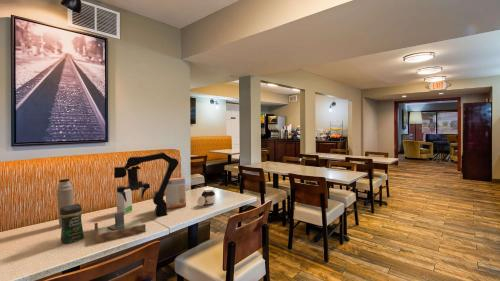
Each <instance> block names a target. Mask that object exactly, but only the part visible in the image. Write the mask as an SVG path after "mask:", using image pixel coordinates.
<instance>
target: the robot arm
mask: <svg viewBox="0 0 500 281" xmlns="http://www.w3.org/2000/svg"><path fill="white" fill-rule="evenodd" d="M157 160H164V162H167V166H166V171H165V174H164V175H163V178H162V180H161V183H160V185H159V188H158V189H157V191H155V190H154V191H153V195H152V196H151V197H152V201H153V204H154V205H155V208H154V214H155V216H156V217H158V218H159V217H164V216H167V215H168V212H167V210H168V209H167V207H166V199H164V196H165V189H166V187H167V184H168V182H169V179H171V177H172V174H173V172H174V171H175V170H176V169H177V167H178V165H179V160H178V159H177V158H175V157H170V156H169V155H168V154H166V153H165V152H158V153H154V154H153V153H152V154H147V155H142V156H140V155H139V156H136V155H135V156H129V157H128V158H127V160H126V163H125V164H124V166H115V167H114V168H113V169H114V172H113V174H114V175H113V176H114V177H113V178H114V179H121V178H122V179H123V178H125V177H126V176H127V184H128V186H124V185H118V186H116V192H117V193H120V194H121V193H122V195H123V197H124V199H125V201H126V195H125V191H124V190H128V189H131V192H132V191H138V190H140V192H141V193H140V197H141V198H140V199H141V200H143V198H144V194H145V193H146V191H147V190H148V189H150V186H151V185H150V184H149V182H143V181H142V180H141V181H139V176H138V175H139V174H138V173H139V172H138V170H141V168H142V167H140V166H139V165H140V164H142V163H147V162H150V161H157Z"/></svg>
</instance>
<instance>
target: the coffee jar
mask: <svg viewBox="0 0 500 281" xmlns="http://www.w3.org/2000/svg"><path fill="white" fill-rule="evenodd" d="M82 214H83V207H82V205H81V204H80V203H74V205H70V206H65V207H61V208H60V217H61V219H62V227H61V231H60V242H61V243H63V244H70V243H74V242H76V241H79V240H82V239H83V238H84V237H85V235H84V229H83V228H84V227H83V222H82Z"/></svg>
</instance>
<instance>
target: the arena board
mask: <svg viewBox="0 0 500 281" xmlns="http://www.w3.org/2000/svg"><path fill="white" fill-rule="evenodd" d="M138 225H142V221H141V220H140V219H138V220H133V221H128V222H124V228H129V227H133V226H138ZM107 227H108V226H104V227H100V228H99V227H98V234H101V233H105V232H110V231H111V230H108V229H107ZM146 232H147V231H143V233H146ZM140 234H142V232H141V233H140ZM134 235H138V234H137V233H136V234H135V233H134ZM96 244H99V243H98V242H97V243H96Z"/></svg>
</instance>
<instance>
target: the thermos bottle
mask: <svg viewBox="0 0 500 281" xmlns="http://www.w3.org/2000/svg"><path fill="white" fill-rule="evenodd" d="M56 194H57V195H56V196H57V210H58V226H59V228H62V219H61V217H60V208H61V207H65V206H70V205H74V204H75V197H74V187H73V185H72V184H71V183H70V179H69V178H65V179H59V185H58V186H57V189H56Z"/></svg>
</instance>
